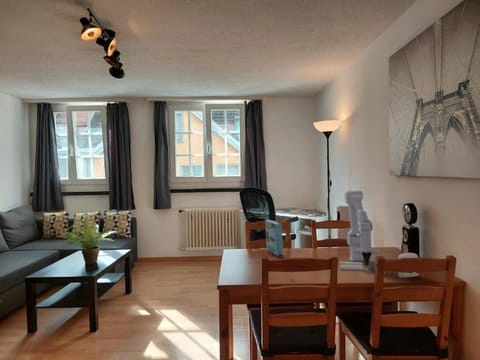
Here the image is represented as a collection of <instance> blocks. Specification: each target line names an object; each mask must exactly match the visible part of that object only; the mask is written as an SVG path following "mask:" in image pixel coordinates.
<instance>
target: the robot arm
mask: <svg viewBox="0 0 480 360" xmlns="http://www.w3.org/2000/svg"><path fill="white" fill-rule="evenodd" d="M363 193H364V192H363V191H362V190H346V191H345V193H344V198H345V199H344V200H345V204H346V205H348V213H349V222H350V223H349V224H350V230H349V231H348V232H347V234H346V243H347V245H348V246H349V253H350V255H349V262H365V266H367V267H369V260H370V259H371V257H372V254H381V249H378V248H372V231H373V223H372V221H371V220H370V219H369V216H368V214H367V211H365V210H364V206H363V203H362V201H363V198H364V194H363Z"/></svg>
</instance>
